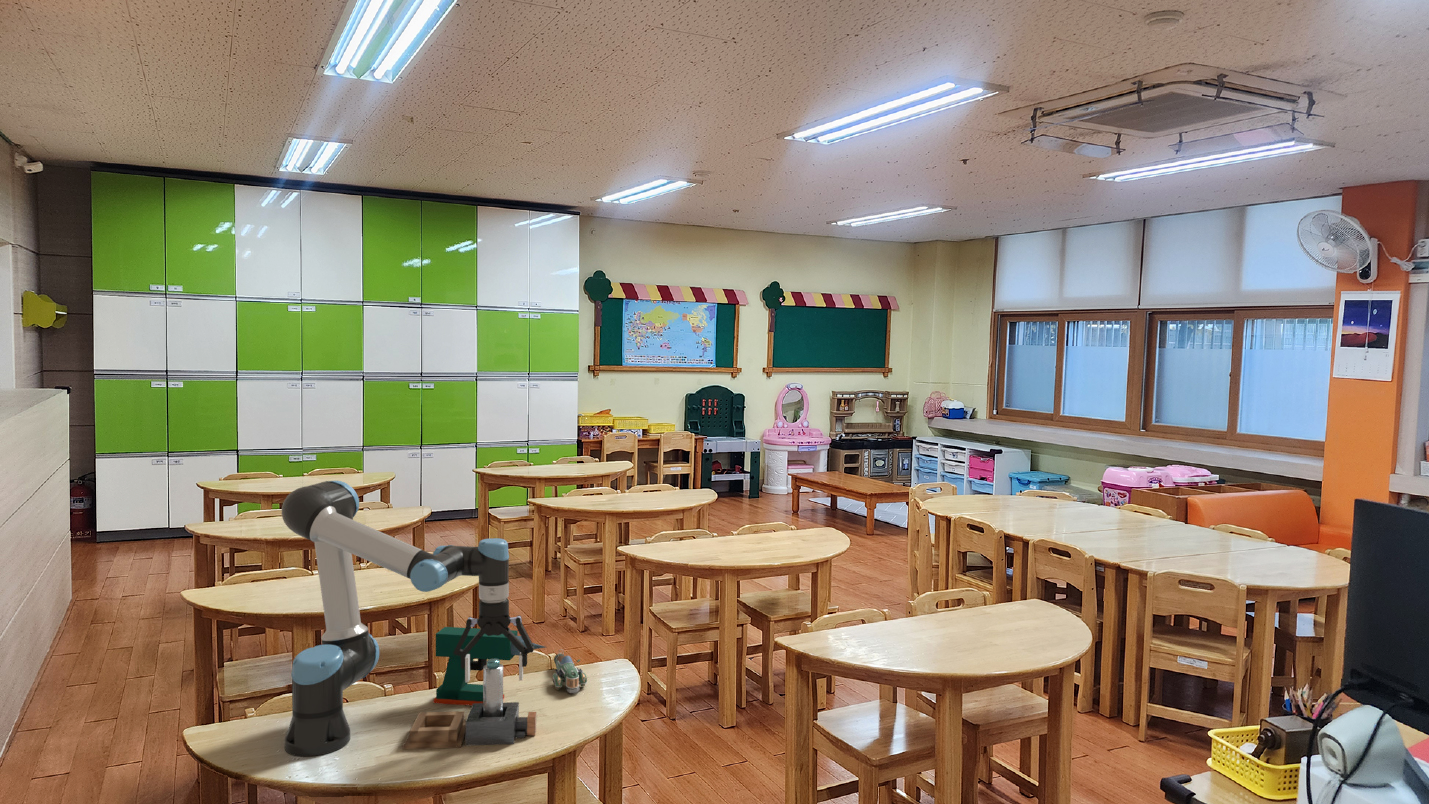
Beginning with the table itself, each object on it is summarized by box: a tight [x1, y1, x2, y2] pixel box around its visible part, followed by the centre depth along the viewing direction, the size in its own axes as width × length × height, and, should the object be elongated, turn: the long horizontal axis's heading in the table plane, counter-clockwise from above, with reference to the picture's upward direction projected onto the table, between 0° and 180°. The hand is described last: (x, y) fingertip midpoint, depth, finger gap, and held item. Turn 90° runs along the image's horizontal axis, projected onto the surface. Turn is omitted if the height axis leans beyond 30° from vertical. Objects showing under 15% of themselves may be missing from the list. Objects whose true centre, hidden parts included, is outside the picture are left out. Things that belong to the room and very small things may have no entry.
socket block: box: [465, 701, 526, 746], centre depth 227 cm, size 14×12×6 cm
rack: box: [402, 710, 467, 750], centre depth 226 cm, size 14×14×4 cm
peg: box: [482, 659, 504, 717], centre depth 227 cm, size 5×5×20 cm
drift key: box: [516, 711, 537, 736], centre depth 228 cm, size 8×4×5 cm, turn 97°
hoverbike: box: [552, 649, 588, 696], centre depth 266 cm, size 10×25×8 cm, turn 21°
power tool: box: [433, 626, 546, 706], centre depth 248 cm, size 32×7×20 cm, turn 84°
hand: (494, 679), depth 227 cm, fingers open, 13 cm apart
